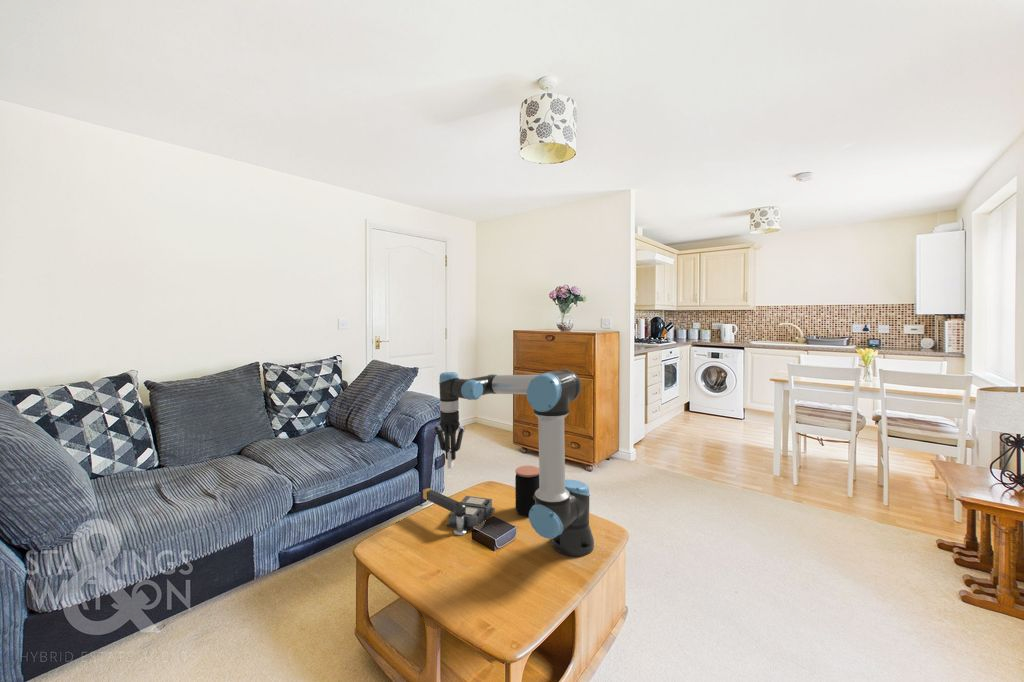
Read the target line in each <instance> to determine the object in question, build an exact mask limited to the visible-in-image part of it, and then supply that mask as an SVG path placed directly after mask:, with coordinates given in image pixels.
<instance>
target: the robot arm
mask: <svg viewBox="0 0 1024 682" xmlns="http://www.w3.org/2000/svg"><path fill="white" fill-rule="evenodd" d="M459 377H460V376H459V374H458V373H457V372H455V371H447V372H446V371H445V372H441V373H440V374H439V379H438V380H439V382H438V384H439V386H438V387H439V410H440V413H439V416H440V417H439V418H440V422H439V424H438V425H436V426H435V427H434V430H435V432H436V434H437V439H438V442H439V446H440V450H441V451H444V452H445V459H446V461H447V469H452V468H454V467H455V460H456V457H457V456H456V452H458V451H459V450H460V449H461V445H462V440H463V435H464V432H465V431H466V427H463V426H462V425H461V424H460V411H459V409H460V406H459V404H460V403H459V401H460V400H459V399H464V400H468V401H469V400H470V401H473V400H475V401H477V400H478V399H480V397H482V396H485V395H490V394H491V395H497V394H498V395H499V394H500V395H526V398H527V402H528V404H530V407H531V408H532V409H533V415H535V417H536V418H537V419H538V420H537V421H538V468H539V486H540V488H539V489H537V490H536V492H535V505H533V506H532V508H531V509H530V511H529V517H528V520H529V524H530V526H531V528H532V529H534V531H535V533H536V534H537V535H539V536H540V537H542V538H544V539H548V540H549V539H550V540H551V542H552V543H551V545H552V547H553V549H555V551H557V552H558V553H560V554H562V555H566V556H569V557H581V556H587V555H588V554H590V553H592V552H593V550H594V548H595V538H594V535H593V532H592V530H591V526H590V488H589V485H587V484H586V483H585V482H583V481H580V480H577V479H568V478H567V479H566V466H565V465H566V458H565V457H566V456H565V455H566V454H565V453H566V451H565V449H566V447H565V445H566V444H565V442H566V441H565V419H566V417H567V416H568V415H569V414H570V412H569V411H570V408H569V407H570V405H569V404H570V403H572V402H574V401H575V400H577V399H578V397H579V396H580V394H581V392H582V382H581V378H580V377H579V376H578V375H577V373H575V372H574V371H573V370H570V369H559V370H554V371H549V372H543V373H540V374H504V375H503V374H500V375H498V374H488V375H484V376H483V375H482V376H478V377H472V378H459ZM457 430H458V434H457ZM456 434H457V436H456ZM456 437H457V438H456Z"/></svg>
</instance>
